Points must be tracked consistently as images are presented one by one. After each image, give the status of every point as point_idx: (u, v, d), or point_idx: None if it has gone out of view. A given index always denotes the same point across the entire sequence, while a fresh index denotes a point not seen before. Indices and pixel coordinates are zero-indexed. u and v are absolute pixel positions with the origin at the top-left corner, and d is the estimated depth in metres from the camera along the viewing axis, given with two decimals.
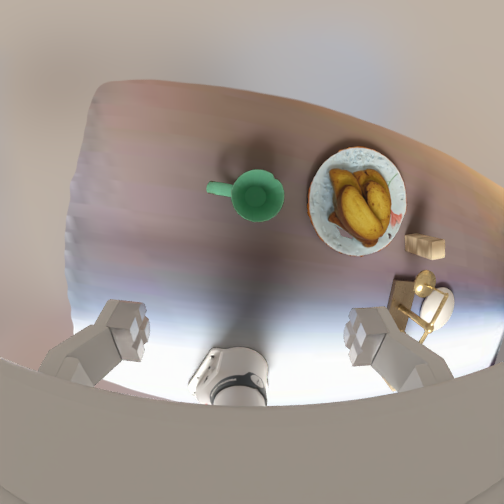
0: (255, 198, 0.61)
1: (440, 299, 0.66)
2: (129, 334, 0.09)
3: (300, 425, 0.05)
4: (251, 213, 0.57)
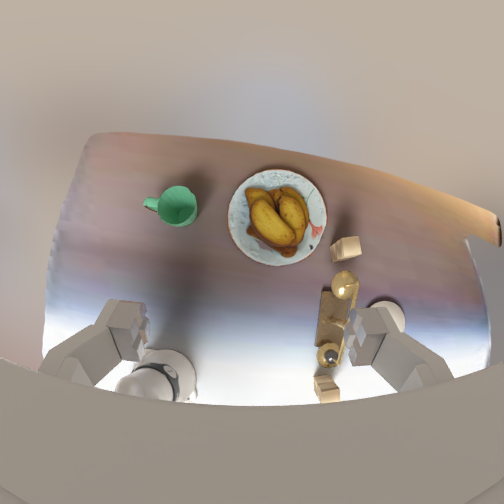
0: (186, 217, 0.74)
1: None
2: (129, 334, 0.09)
3: (300, 425, 0.05)
4: None
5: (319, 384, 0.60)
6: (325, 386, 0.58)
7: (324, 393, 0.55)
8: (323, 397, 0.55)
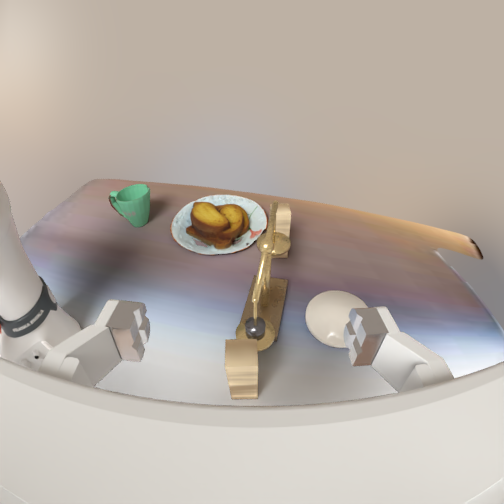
0: None
1: (337, 303, 0.53)
2: (129, 334, 0.09)
3: (300, 425, 0.05)
4: None
5: None
6: None
7: (230, 342, 0.35)
8: (228, 349, 0.34)
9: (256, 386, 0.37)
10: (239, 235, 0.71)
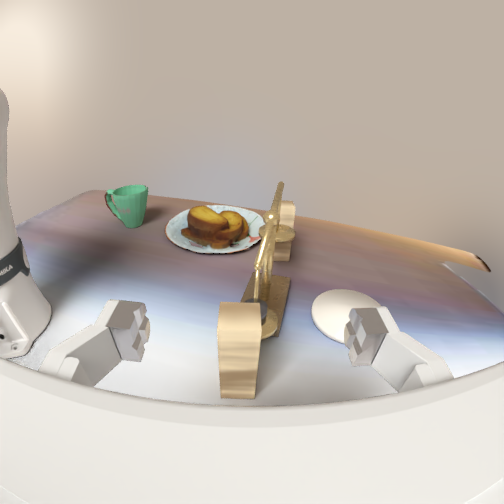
0: None
1: (347, 300, 0.46)
2: (129, 334, 0.09)
3: (300, 425, 0.05)
4: None
5: None
6: None
7: (225, 305, 0.28)
8: (222, 311, 0.27)
9: (255, 374, 0.28)
10: (237, 239, 0.66)
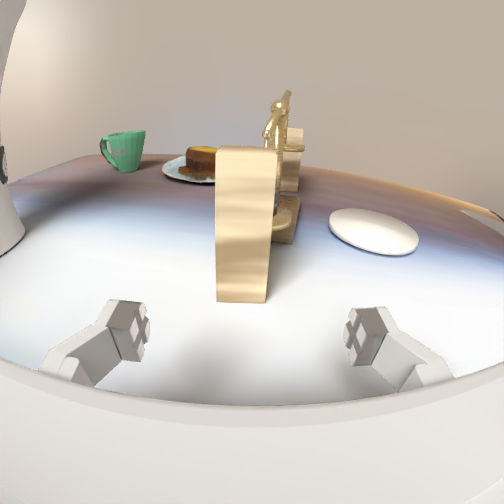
0: None
1: (369, 217, 0.39)
2: (129, 334, 0.09)
3: (300, 425, 0.05)
4: None
5: None
6: None
7: (227, 146, 0.21)
8: (224, 148, 0.20)
9: (267, 246, 0.21)
10: None
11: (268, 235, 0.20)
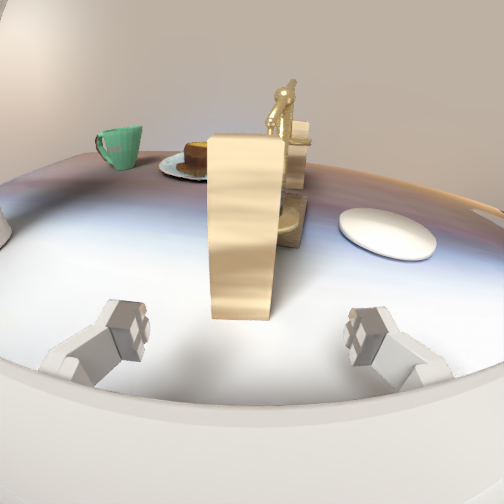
0: None
1: (382, 217, 0.35)
2: (129, 334, 0.09)
3: (300, 425, 0.05)
4: None
5: None
6: None
7: (223, 133, 0.17)
8: (219, 135, 0.16)
9: (272, 255, 0.17)
10: None
11: (273, 241, 0.17)
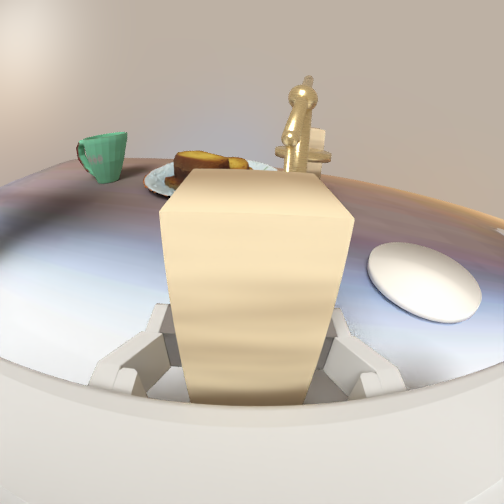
0: None
1: (417, 257, 0.27)
2: None
3: (300, 425, 0.05)
4: None
5: None
6: None
7: (208, 171, 0.09)
8: (197, 180, 0.08)
9: (299, 399, 0.09)
10: None
11: (303, 386, 0.08)
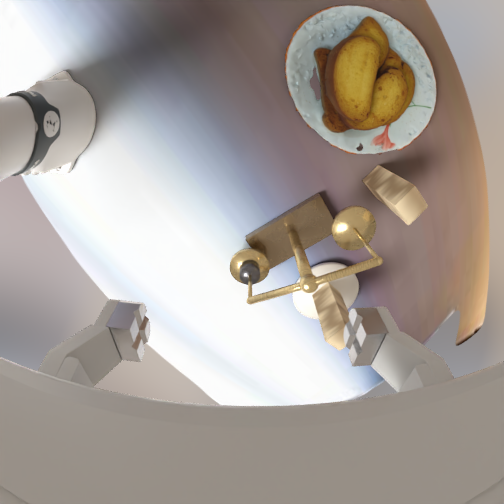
0: None
1: (340, 284, 0.51)
2: (129, 334, 0.09)
3: (300, 425, 0.05)
4: None
5: (338, 305, 0.45)
6: (345, 317, 0.44)
7: None
8: (339, 333, 0.41)
9: None
10: None
11: None
